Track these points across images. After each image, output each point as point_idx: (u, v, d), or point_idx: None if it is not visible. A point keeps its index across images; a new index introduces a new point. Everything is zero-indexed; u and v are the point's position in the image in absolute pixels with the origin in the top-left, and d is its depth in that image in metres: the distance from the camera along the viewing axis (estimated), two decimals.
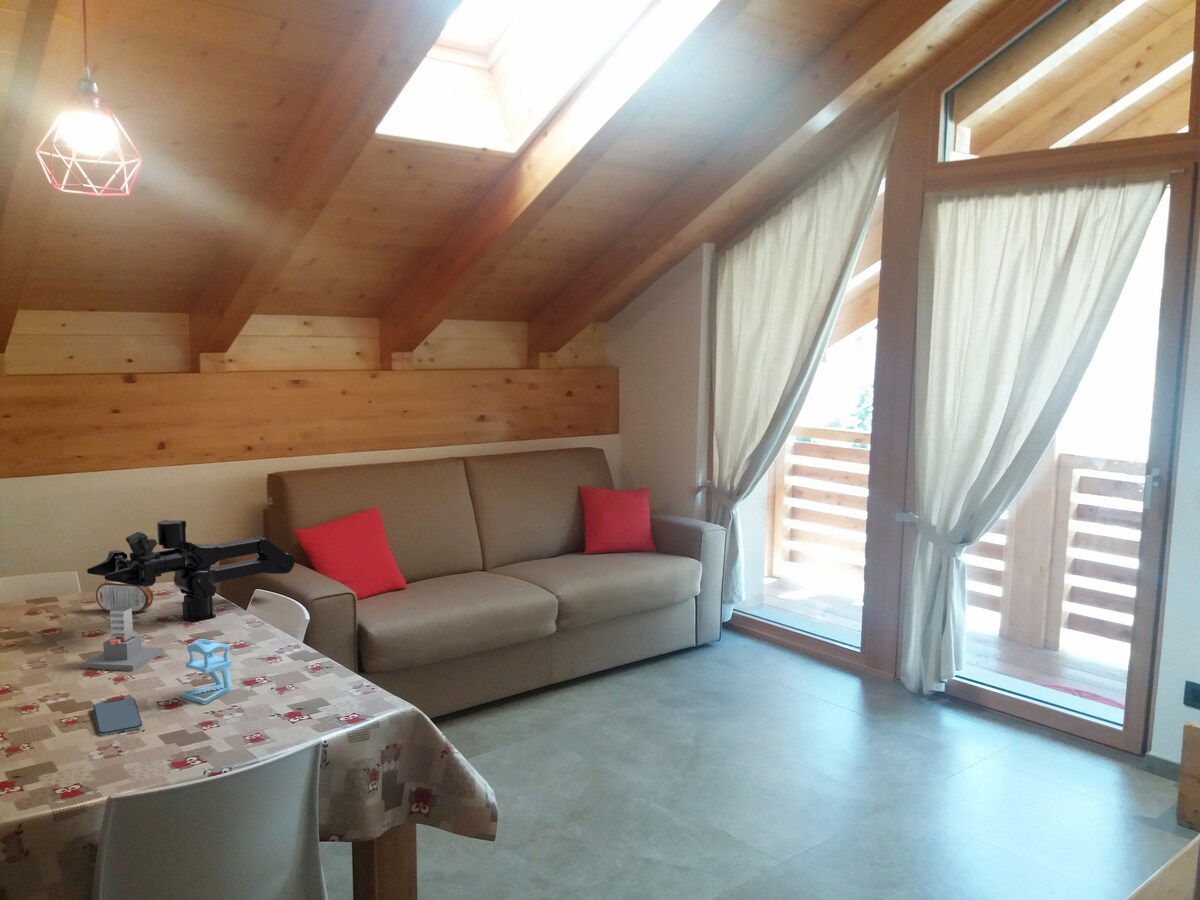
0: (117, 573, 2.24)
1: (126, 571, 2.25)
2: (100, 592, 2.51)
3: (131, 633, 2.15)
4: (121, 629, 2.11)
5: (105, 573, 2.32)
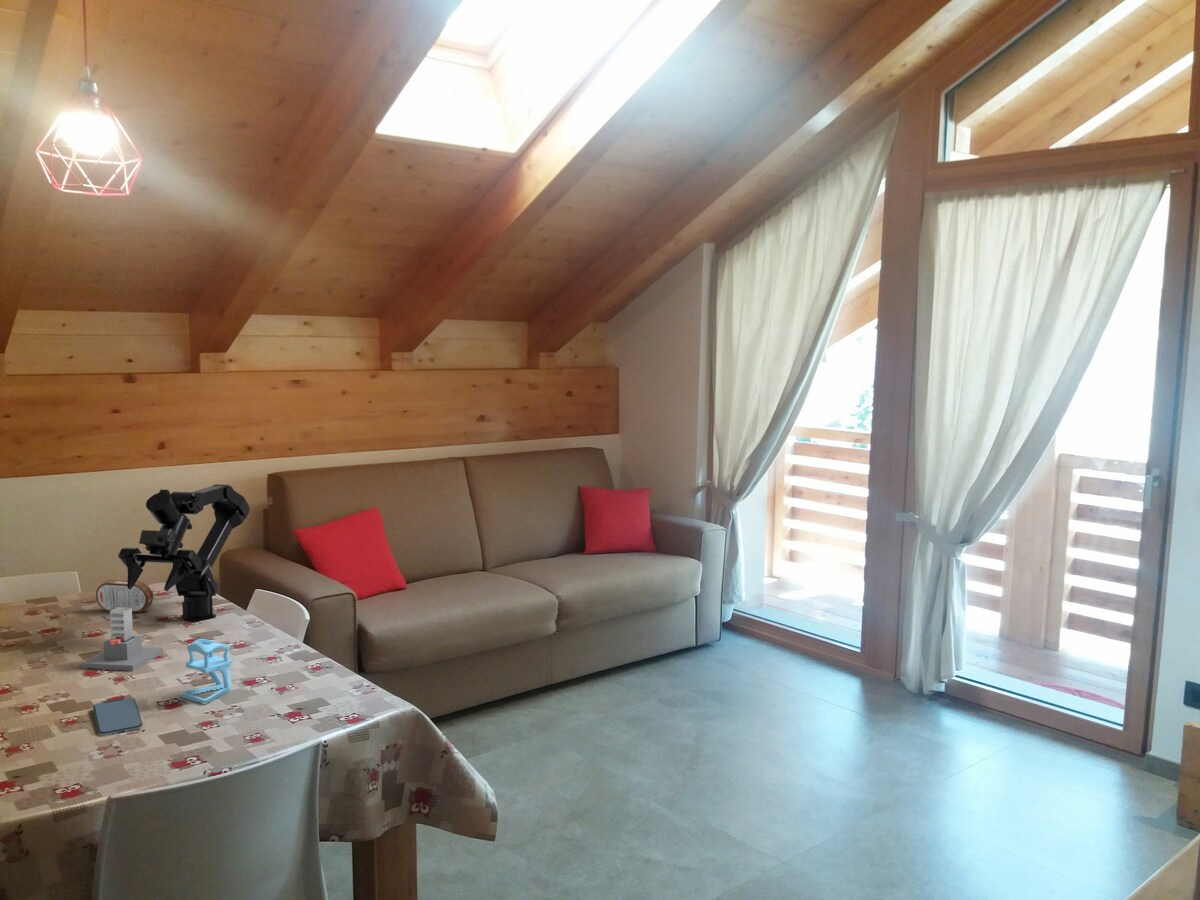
0: (171, 579, 2.24)
1: (176, 572, 2.25)
2: (100, 592, 2.51)
3: (131, 633, 2.15)
4: (121, 629, 2.11)
5: (137, 576, 2.27)
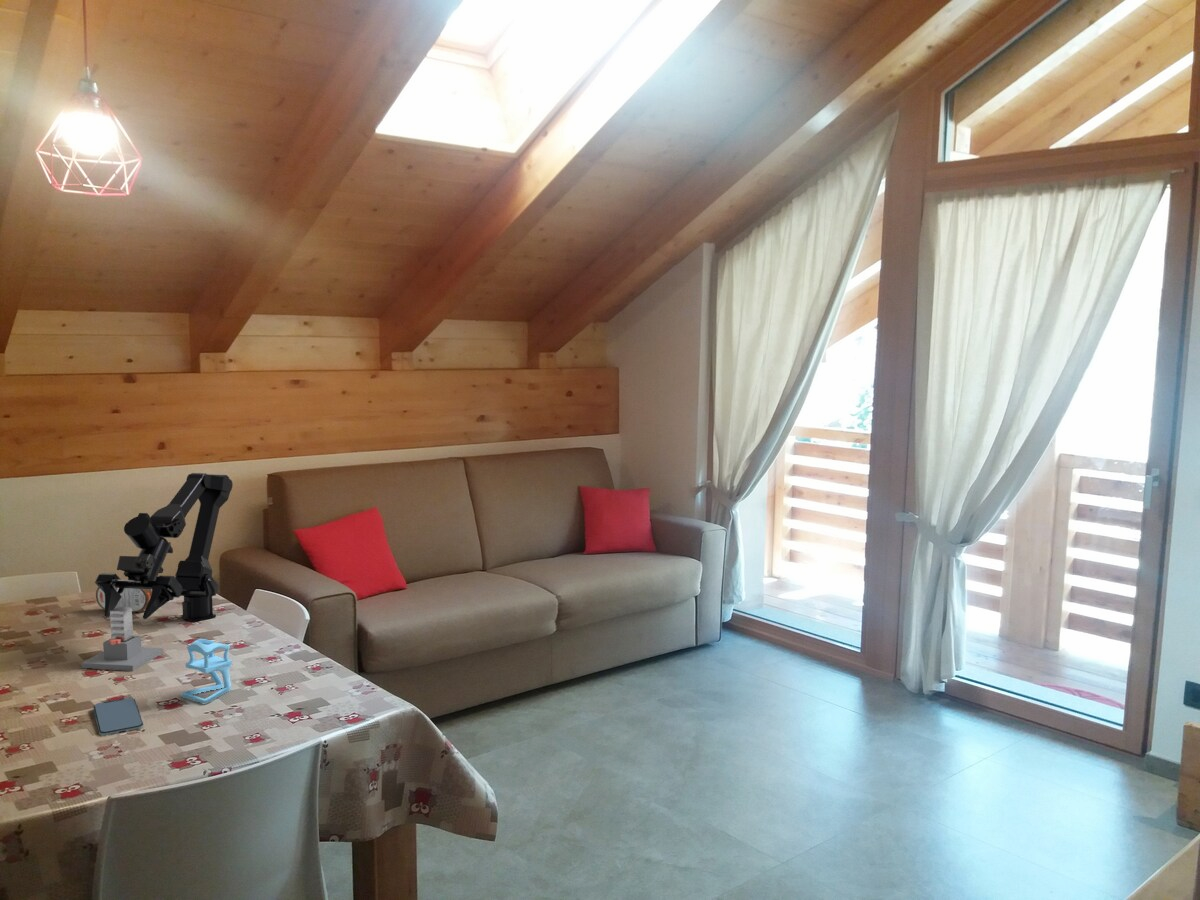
0: (150, 606, 2.15)
1: (155, 599, 2.16)
2: (100, 592, 2.51)
3: (131, 633, 2.15)
4: (121, 629, 2.11)
5: (115, 603, 2.19)
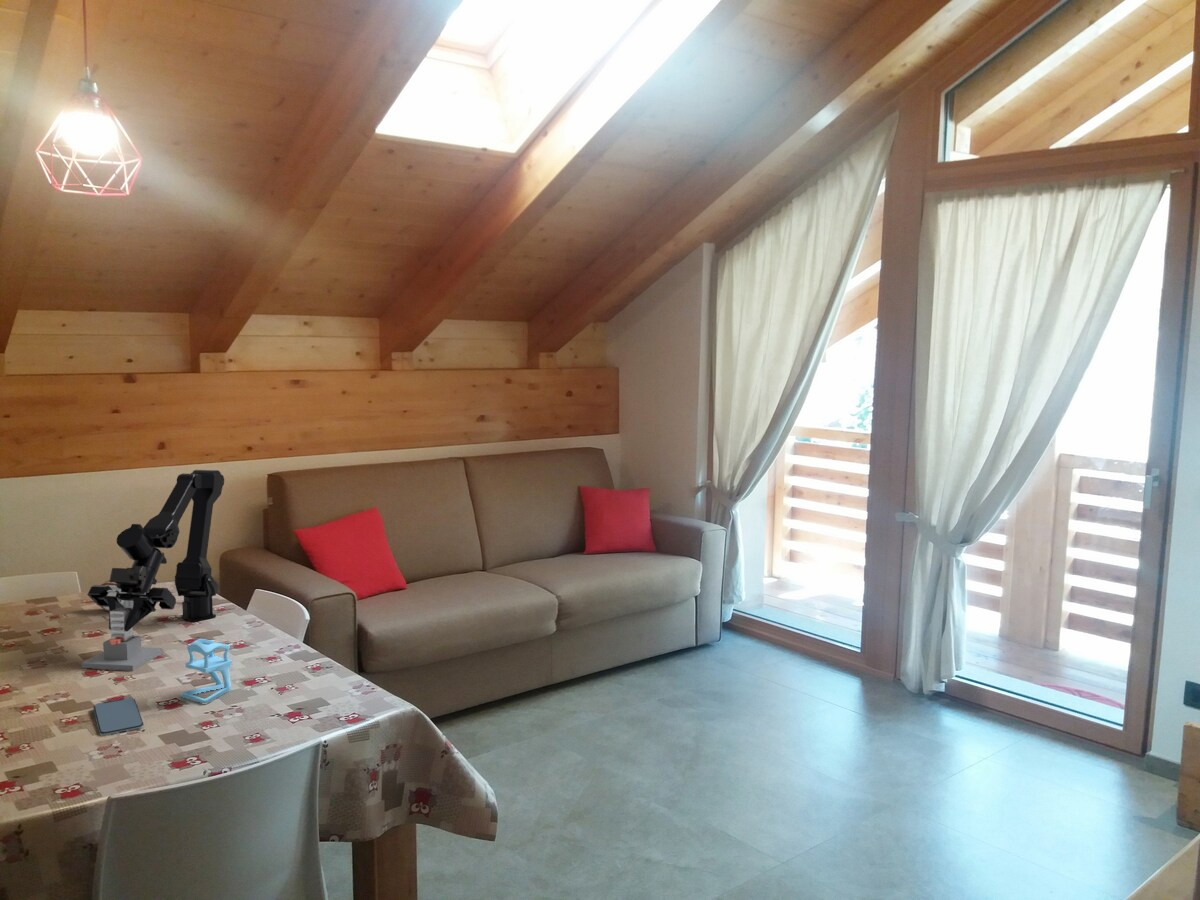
0: (131, 618, 2.13)
1: (137, 611, 2.14)
2: None
3: (131, 633, 2.15)
4: (121, 629, 2.11)
5: None
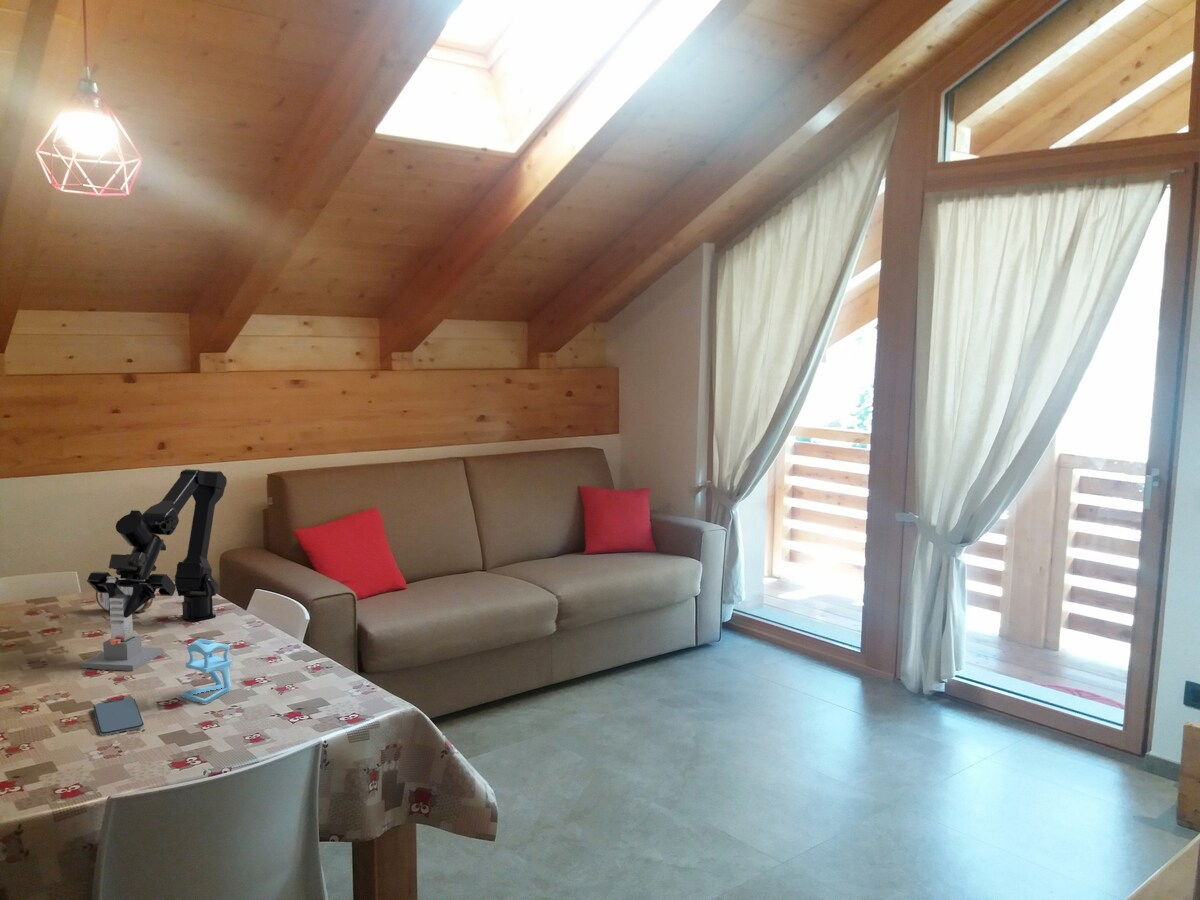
0: (131, 605, 2.13)
1: (136, 597, 2.14)
2: None
3: (130, 620, 2.14)
4: (120, 616, 2.11)
5: None
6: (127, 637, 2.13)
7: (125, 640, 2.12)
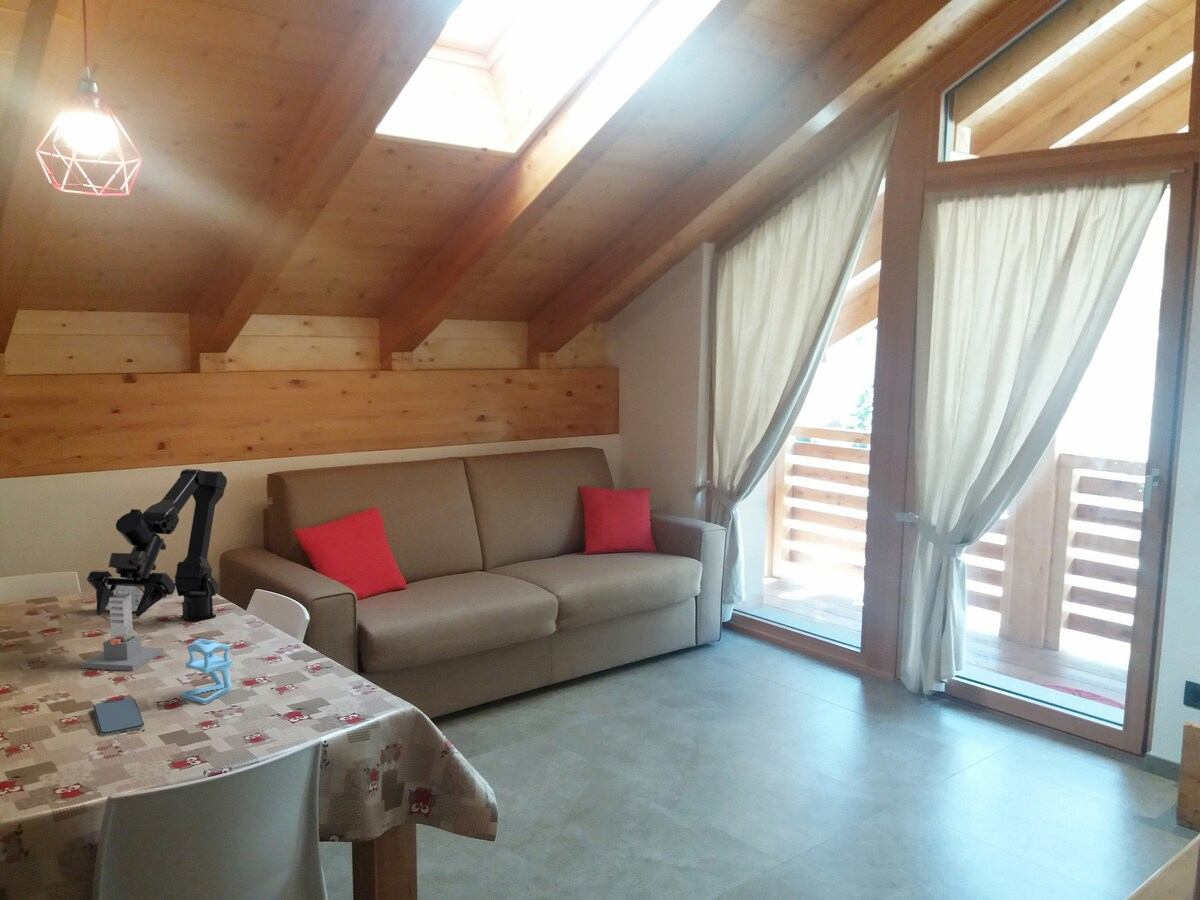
0: (142, 604, 2.12)
1: (148, 597, 2.13)
2: None
3: (130, 620, 2.14)
4: (120, 615, 2.11)
5: (107, 600, 2.16)
6: (127, 636, 2.13)
7: (125, 639, 2.12)
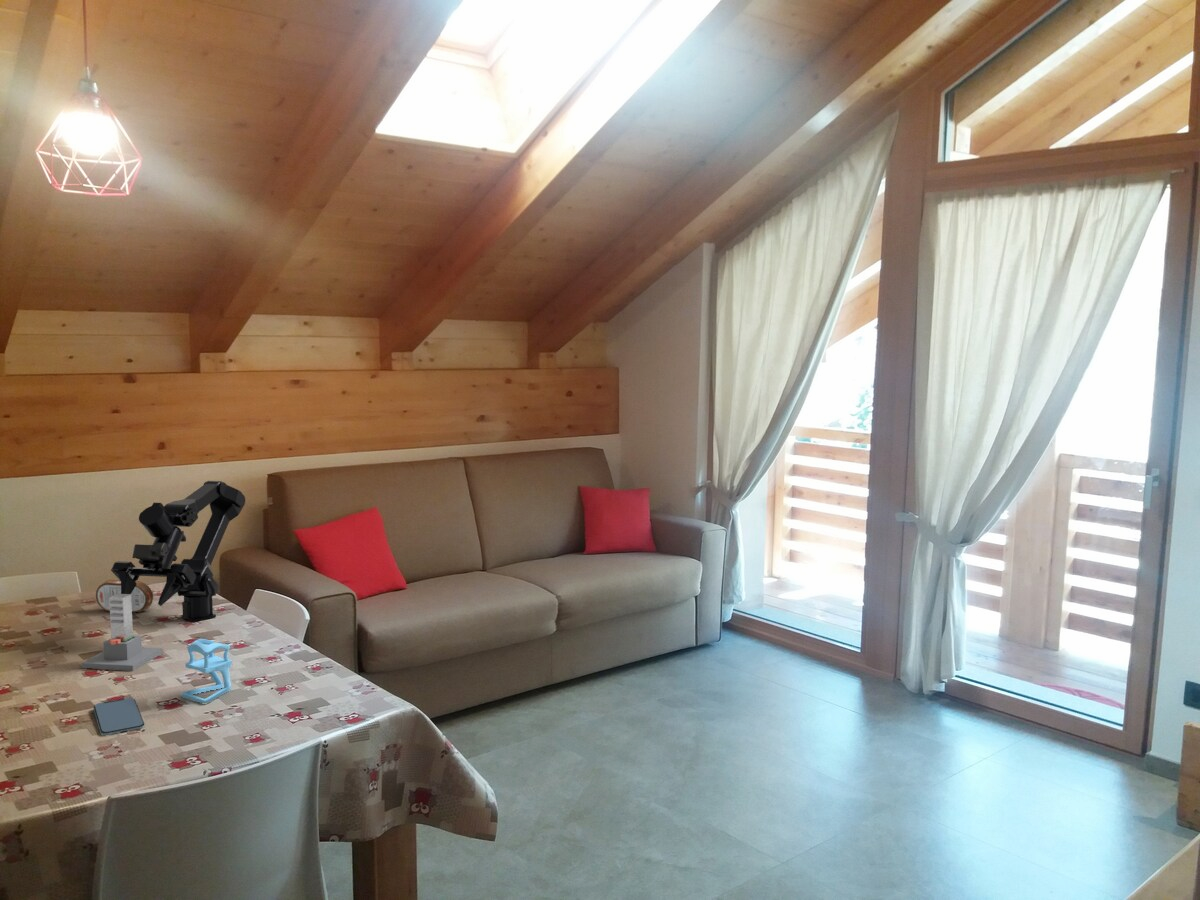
0: (165, 593, 2.21)
1: (170, 586, 2.22)
2: (100, 592, 2.51)
3: (130, 620, 2.14)
4: (120, 615, 2.11)
5: (130, 590, 2.25)
6: (127, 636, 2.13)
7: (125, 639, 2.12)
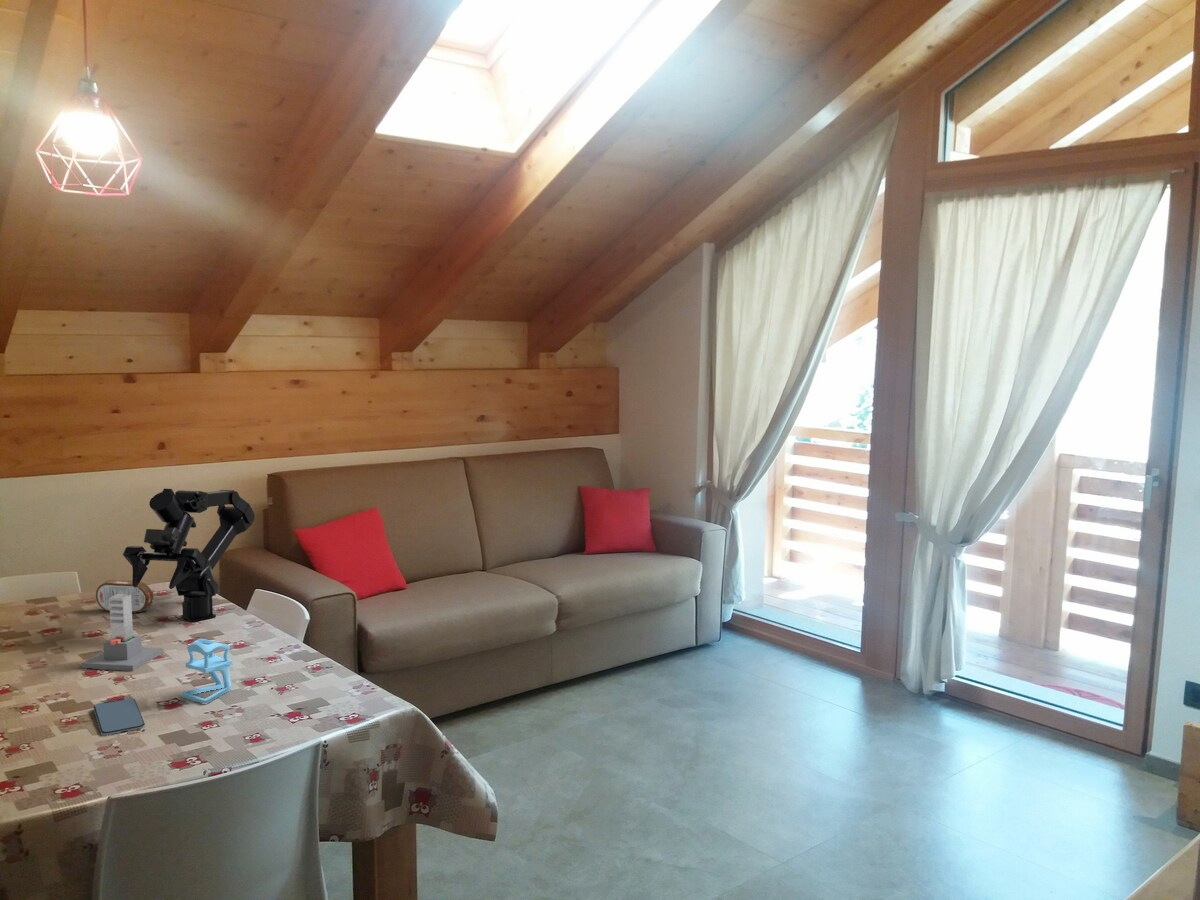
0: (175, 577, 2.26)
1: (180, 570, 2.27)
2: (100, 592, 2.51)
3: (130, 620, 2.14)
4: (120, 615, 2.11)
5: (141, 574, 2.30)
6: (127, 636, 2.13)
7: (125, 639, 2.12)
